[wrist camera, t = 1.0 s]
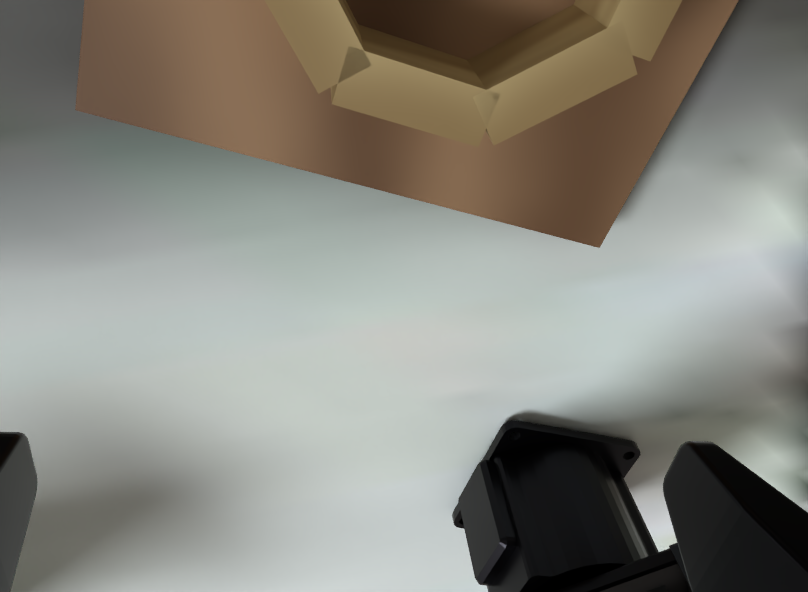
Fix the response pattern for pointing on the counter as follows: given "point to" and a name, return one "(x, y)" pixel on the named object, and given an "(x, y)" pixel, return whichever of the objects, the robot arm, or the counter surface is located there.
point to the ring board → (415, 92)
